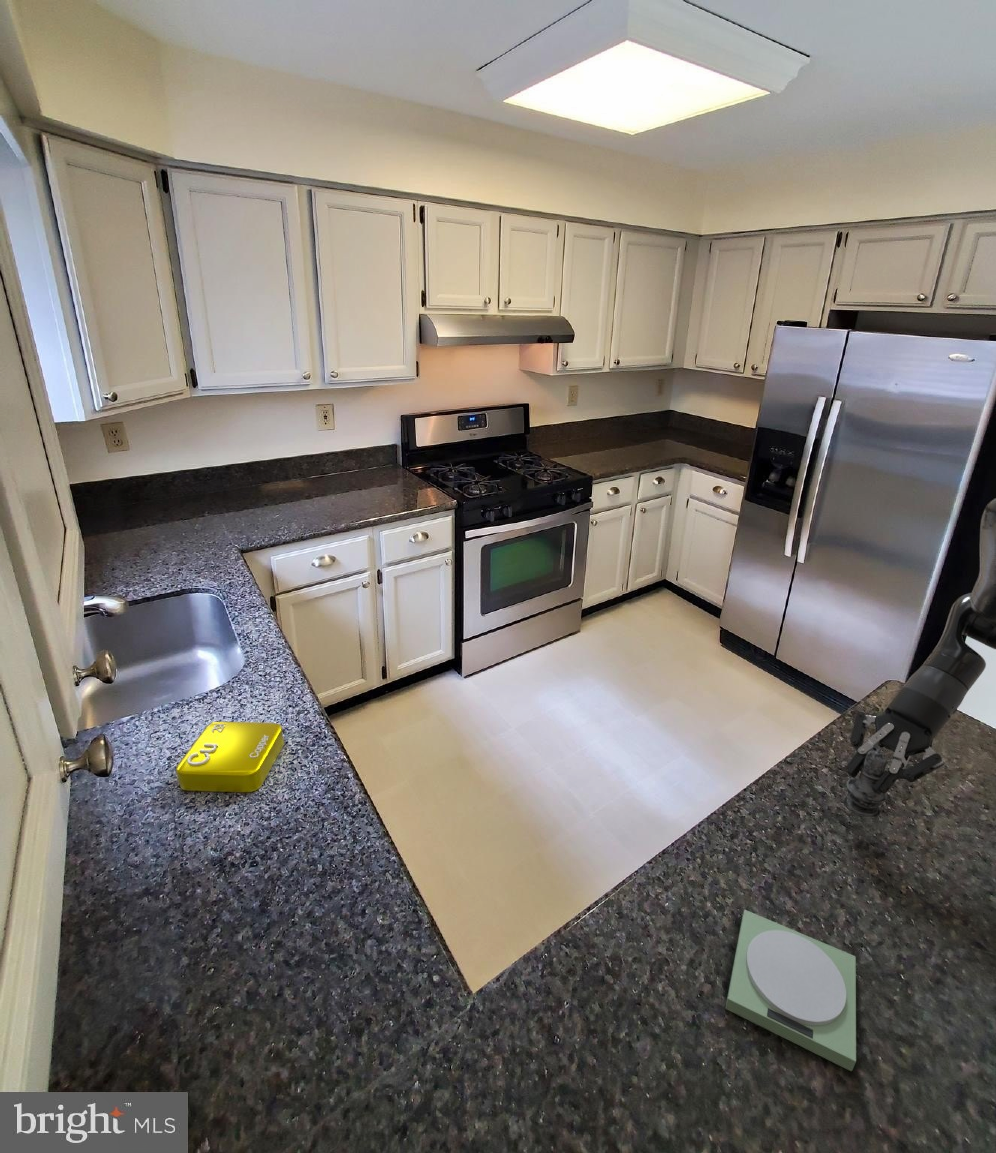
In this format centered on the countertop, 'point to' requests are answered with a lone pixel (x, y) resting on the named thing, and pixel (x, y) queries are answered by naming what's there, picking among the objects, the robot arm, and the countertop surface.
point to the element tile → (231, 757)
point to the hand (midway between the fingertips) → (863, 783)
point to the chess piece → (867, 787)
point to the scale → (795, 988)
